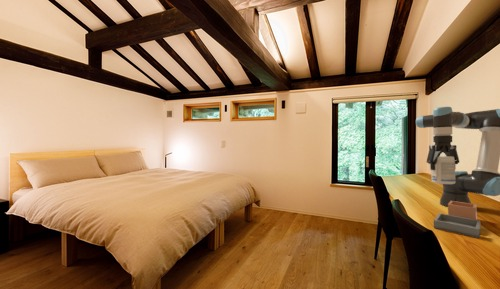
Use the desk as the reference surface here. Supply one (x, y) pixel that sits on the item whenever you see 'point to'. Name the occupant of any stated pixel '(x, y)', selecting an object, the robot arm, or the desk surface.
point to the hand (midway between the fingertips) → (443, 175)
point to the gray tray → (458, 225)
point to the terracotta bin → (462, 209)
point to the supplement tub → (445, 170)
